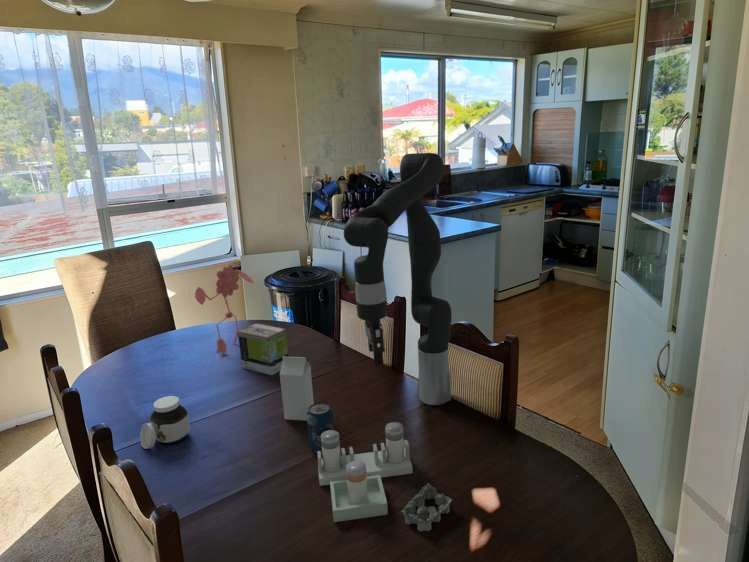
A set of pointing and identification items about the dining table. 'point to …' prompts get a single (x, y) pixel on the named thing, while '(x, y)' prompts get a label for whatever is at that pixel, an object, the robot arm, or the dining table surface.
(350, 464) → the marked fuse
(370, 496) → the tray
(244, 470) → the dining table surface
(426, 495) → the egg carton
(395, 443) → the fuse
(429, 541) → the dining table surface
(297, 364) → the milk carton
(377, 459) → the clip rail
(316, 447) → the soda can
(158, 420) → the spread jar
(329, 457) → the cylinder
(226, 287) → the figurine
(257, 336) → the tea box
